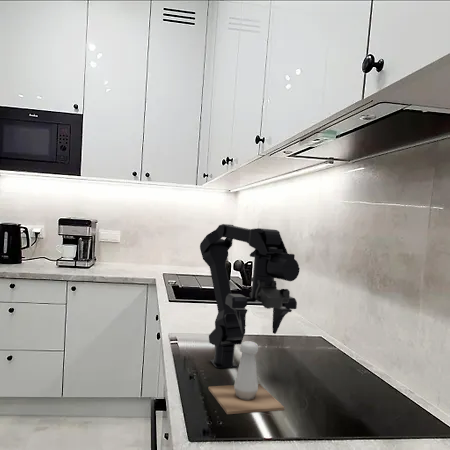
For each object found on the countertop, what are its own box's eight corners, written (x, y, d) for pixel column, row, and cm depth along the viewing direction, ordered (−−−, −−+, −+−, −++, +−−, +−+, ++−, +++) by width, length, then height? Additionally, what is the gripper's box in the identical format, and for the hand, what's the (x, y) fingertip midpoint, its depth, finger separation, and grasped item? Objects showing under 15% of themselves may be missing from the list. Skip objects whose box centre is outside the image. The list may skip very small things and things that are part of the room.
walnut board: (208, 388, 105) (208, 386, 105) (259, 386, 109) (259, 383, 109) (227, 414, 91) (227, 411, 91) (284, 409, 96) (284, 407, 96)
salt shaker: (255, 392, 103) (260, 340, 103) (258, 402, 98) (263, 346, 98) (232, 390, 103) (236, 338, 103) (234, 400, 97) (238, 345, 97)
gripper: (242, 278, 101) (237, 342, 101) (309, 281, 108) (304, 341, 108) (227, 272, 112) (222, 330, 112) (289, 275, 118) (284, 330, 118)
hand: (258, 333), depth 112 cm, fingers open, 9 cm apart
